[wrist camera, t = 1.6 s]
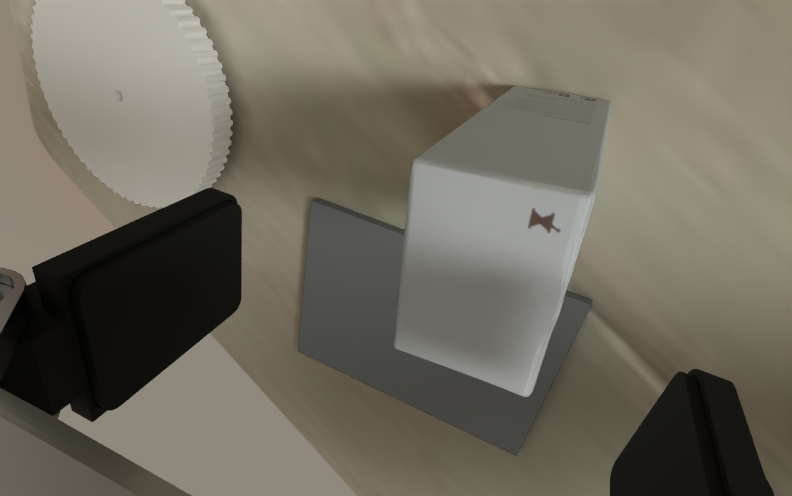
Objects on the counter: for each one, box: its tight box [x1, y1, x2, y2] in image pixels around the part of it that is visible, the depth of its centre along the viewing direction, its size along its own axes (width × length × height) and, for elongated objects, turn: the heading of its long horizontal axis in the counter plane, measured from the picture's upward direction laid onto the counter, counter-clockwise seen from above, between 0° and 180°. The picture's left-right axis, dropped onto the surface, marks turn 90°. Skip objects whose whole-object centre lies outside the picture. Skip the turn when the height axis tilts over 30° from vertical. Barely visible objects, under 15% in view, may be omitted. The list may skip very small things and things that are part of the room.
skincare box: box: [394, 86, 612, 397], centre depth 16 cm, size 6×4×12 cm
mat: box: [298, 198, 592, 456], centre depth 28 cm, size 16×12×1 cm
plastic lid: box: [31, 0, 233, 208], centre depth 28 cm, size 14×14×2 cm
